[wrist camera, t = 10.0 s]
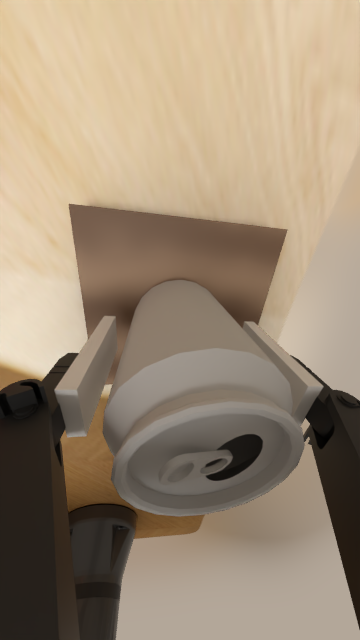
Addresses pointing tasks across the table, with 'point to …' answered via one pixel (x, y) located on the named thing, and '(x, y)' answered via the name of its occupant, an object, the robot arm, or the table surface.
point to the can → (196, 409)
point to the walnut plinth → (168, 263)
